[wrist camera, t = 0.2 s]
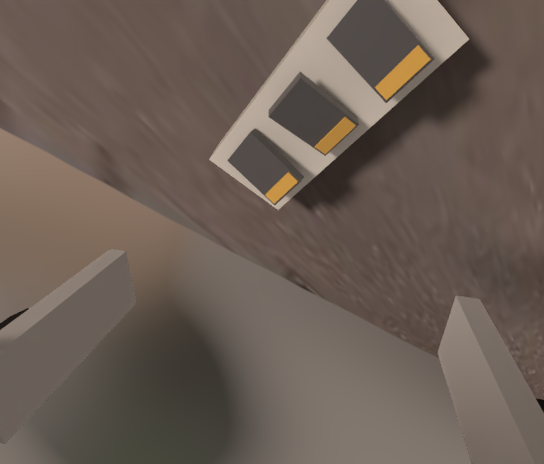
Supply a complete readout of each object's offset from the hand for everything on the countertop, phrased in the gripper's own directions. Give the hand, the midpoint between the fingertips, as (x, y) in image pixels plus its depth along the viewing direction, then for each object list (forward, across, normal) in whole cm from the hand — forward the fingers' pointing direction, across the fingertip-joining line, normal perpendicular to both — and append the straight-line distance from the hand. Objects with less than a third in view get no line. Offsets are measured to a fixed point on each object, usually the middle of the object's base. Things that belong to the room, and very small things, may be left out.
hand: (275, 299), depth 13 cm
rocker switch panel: (+26, +1, +9) cm, 27 cm away
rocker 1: (+23, -6, -1) cm, 24 cm away
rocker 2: (+20, +4, +10) cm, 23 cm away
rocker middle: (+21, -1, +4) cm, 22 cm away
